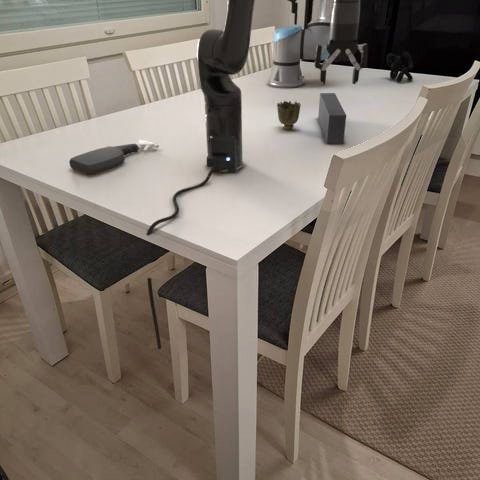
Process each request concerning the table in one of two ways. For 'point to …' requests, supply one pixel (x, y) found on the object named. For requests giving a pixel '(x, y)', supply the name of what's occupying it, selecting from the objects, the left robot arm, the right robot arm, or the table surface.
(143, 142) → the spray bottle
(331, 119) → the bar
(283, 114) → the cup
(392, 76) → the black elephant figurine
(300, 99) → the table surface
